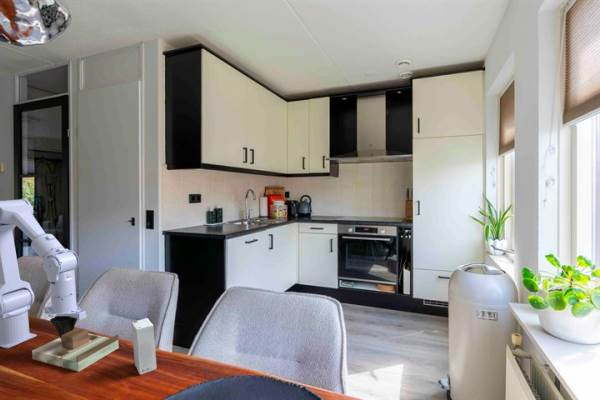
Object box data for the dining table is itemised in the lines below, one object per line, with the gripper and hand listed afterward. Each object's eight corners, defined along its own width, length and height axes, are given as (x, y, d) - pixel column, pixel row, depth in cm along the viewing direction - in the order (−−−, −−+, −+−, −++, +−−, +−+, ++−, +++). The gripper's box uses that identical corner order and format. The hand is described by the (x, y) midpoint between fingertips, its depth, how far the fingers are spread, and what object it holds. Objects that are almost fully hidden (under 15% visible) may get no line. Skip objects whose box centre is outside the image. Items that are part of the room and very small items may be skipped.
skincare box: (157, 369, 83) (155, 324, 82) (138, 376, 80) (136, 330, 79) (151, 358, 87) (149, 316, 86) (133, 365, 84) (131, 321, 84)
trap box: (32, 359, 88) (31, 345, 87) (75, 338, 99) (74, 325, 99) (78, 371, 82) (77, 356, 82) (118, 347, 93) (118, 334, 93)
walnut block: (62, 347, 89) (61, 335, 89) (77, 339, 93) (77, 328, 93) (73, 350, 88) (72, 338, 87) (88, 342, 92) (88, 330, 91)
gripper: (31, 296, 89) (34, 342, 90) (67, 302, 84) (70, 351, 85) (57, 288, 96) (60, 330, 97) (92, 293, 91) (94, 338, 92)
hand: (66, 339), depth 91 cm, fingers closed
